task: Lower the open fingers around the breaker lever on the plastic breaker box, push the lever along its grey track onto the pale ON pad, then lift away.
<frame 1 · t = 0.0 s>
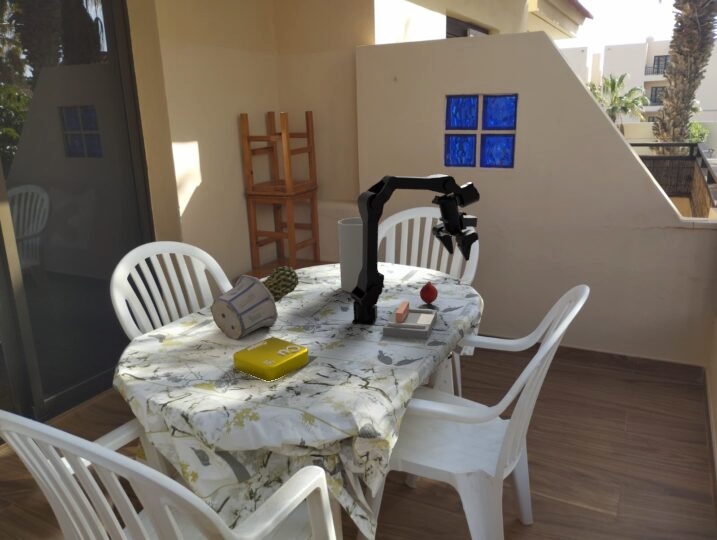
hand: (459, 257, 187), 15 cm above the table, tool pointing down, fingers open, 9 cm apart
lever: (402, 311, 172), point 5 cm above the table, slide at 0.0 cm
cylinder vase: (358, 288, 209), on the table
breaker box: (410, 326, 172), on the table
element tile: (272, 367, 151), on the table
onion: (428, 304, 190), on the table
potted plant: (263, 326, 178), on the table
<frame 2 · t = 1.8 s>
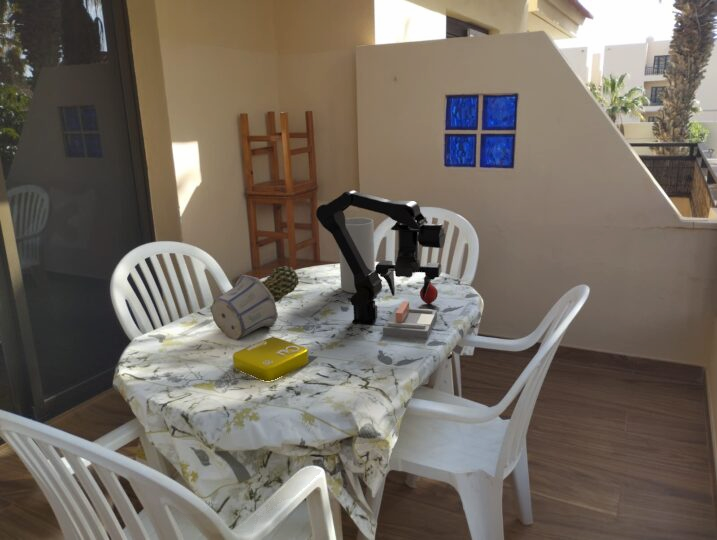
hand: (408, 296, 170), 10 cm above the table, tool pointing down, fingers open, 9 cm apart
nothing on the table moved.
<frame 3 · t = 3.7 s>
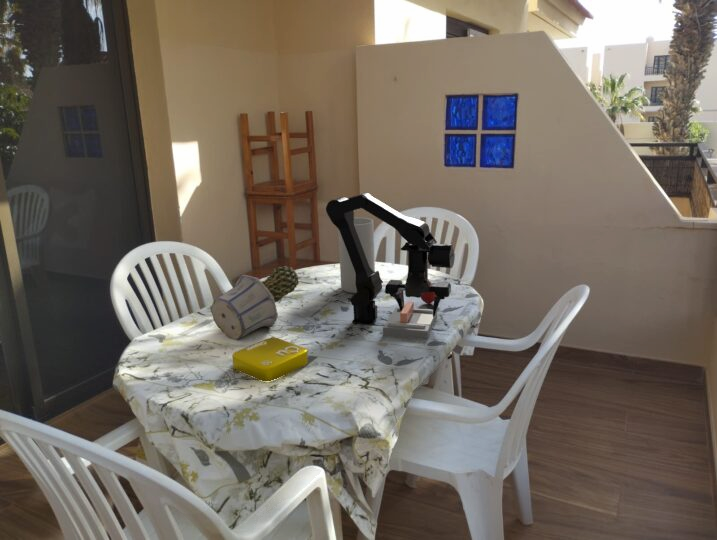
hand: (418, 315, 170), 4 cm above the table, tool pointing down, fingers open, 9 cm apart
lever: (407, 311, 171), point 5 cm above the table, slide at 1.4 cm, touching gripper
everything else where it was.
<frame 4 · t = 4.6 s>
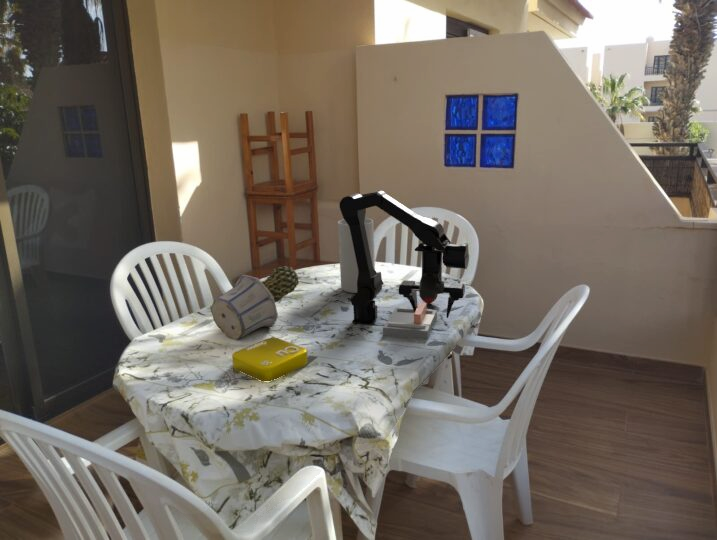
hand: (431, 316, 169), 4 cm above the table, tool pointing down, fingers open, 9 cm apart
lever: (420, 312, 170), point 5 cm above the table, slide at 5.4 cm, touching gripper
everything else where it was.
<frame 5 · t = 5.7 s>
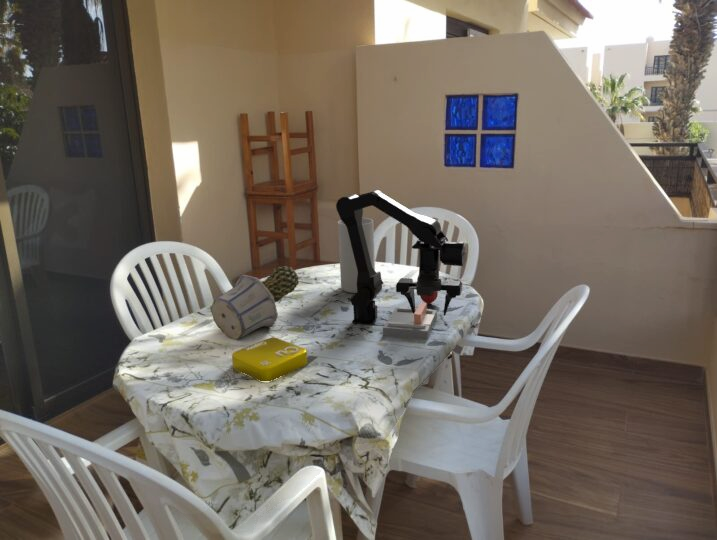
hand: (429, 314, 169), 4 cm above the table, tool pointing down, fingers open, 9 cm apart
lever: (420, 312, 170), point 5 cm above the table, slide at 5.5 cm
everything else where it was.
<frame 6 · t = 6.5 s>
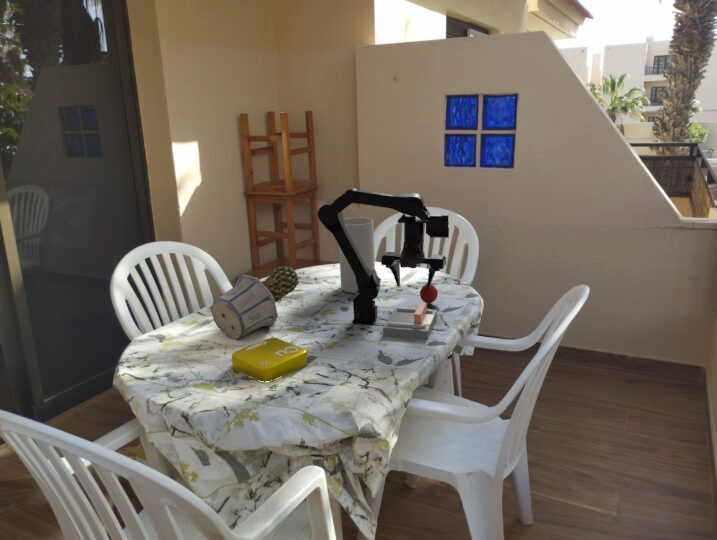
hand: (413, 287, 173), 11 cm above the table, tool pointing down, fingers open, 9 cm apart
nothing on the table moved.
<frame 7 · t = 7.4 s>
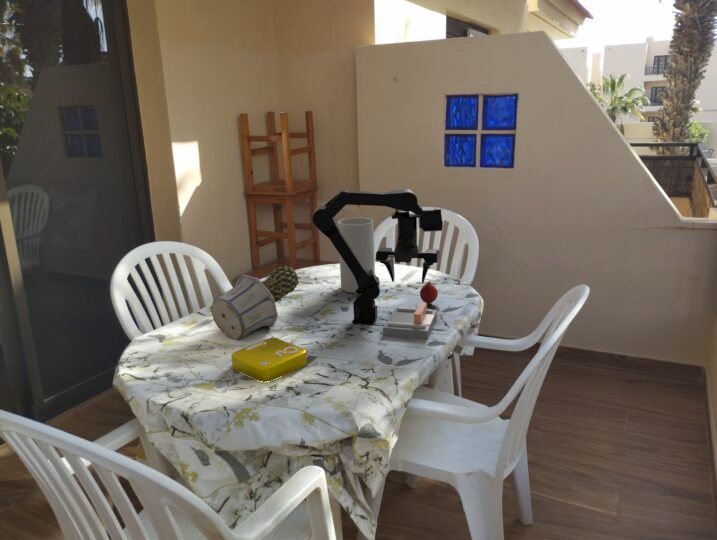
hand: (408, 282, 175), 12 cm above the table, tool pointing down, fingers open, 9 cm apart
nothing on the table moved.
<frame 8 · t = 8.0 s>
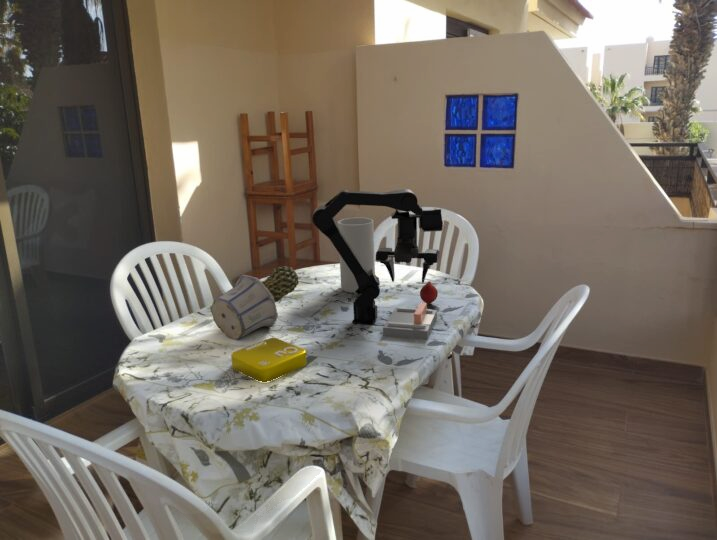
hand: (408, 282, 175), 12 cm above the table, tool pointing down, fingers open, 9 cm apart
nothing on the table moved.
at the end: lever slide at 5.5 cm; onion moved 0.2 cm from its start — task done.
